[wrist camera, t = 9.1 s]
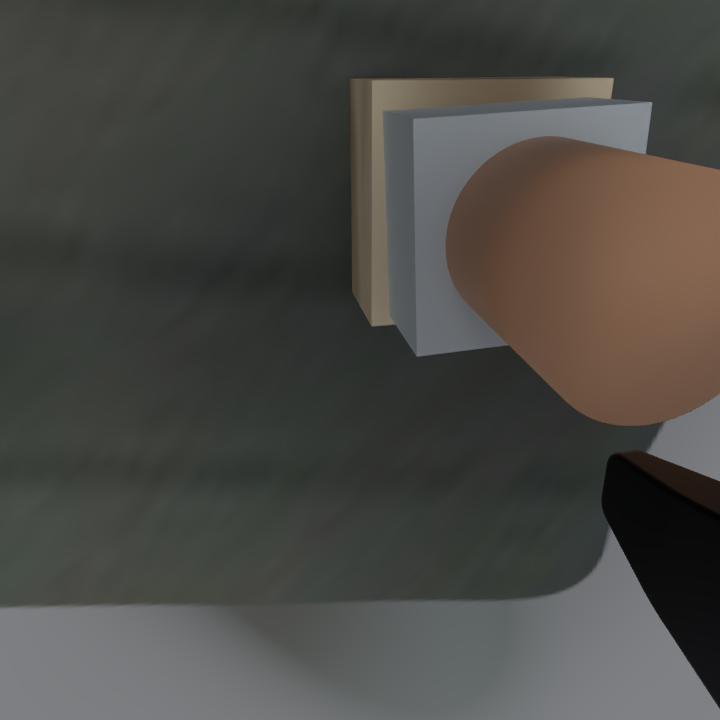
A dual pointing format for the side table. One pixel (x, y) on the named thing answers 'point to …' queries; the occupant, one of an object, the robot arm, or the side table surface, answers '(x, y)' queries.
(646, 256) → the terracotta rounded cylinder
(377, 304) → the oak base block
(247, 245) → the side table surface
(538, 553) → the side table surface
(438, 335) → the grey-blue top block
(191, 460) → the side table surface
